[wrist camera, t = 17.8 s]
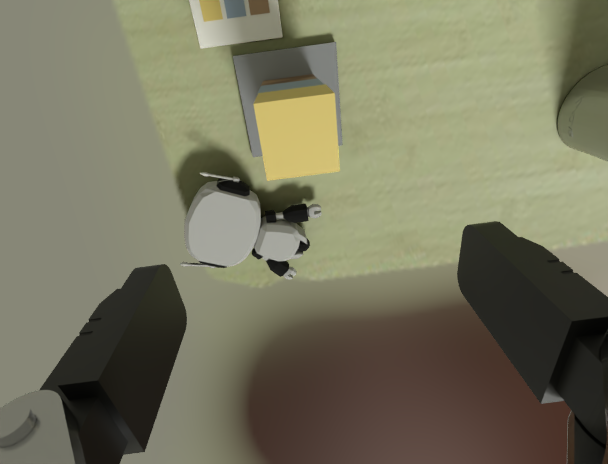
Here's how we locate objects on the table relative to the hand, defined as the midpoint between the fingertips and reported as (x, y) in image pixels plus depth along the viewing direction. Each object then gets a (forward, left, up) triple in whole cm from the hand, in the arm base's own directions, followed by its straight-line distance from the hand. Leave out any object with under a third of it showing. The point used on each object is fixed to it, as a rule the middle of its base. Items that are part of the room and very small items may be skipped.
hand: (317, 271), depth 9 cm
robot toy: (+7, +13, -30) cm, 34 cm away
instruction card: (+4, -9, -30) cm, 32 cm away
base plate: (0, 0, -30) cm, 30 cm away
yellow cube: (0, 0, -19) cm, 19 cm away
